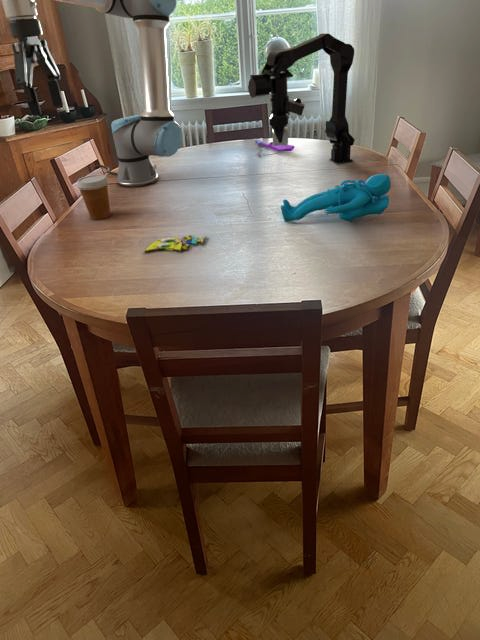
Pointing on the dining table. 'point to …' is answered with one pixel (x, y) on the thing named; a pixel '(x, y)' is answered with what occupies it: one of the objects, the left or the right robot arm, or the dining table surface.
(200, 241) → the toy
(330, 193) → the toy
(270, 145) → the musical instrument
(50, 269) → the dining table surface
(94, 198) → the disposable coffee cup
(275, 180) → the dining table surface
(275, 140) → the block
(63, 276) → the dining table surface
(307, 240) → the dining table surface
